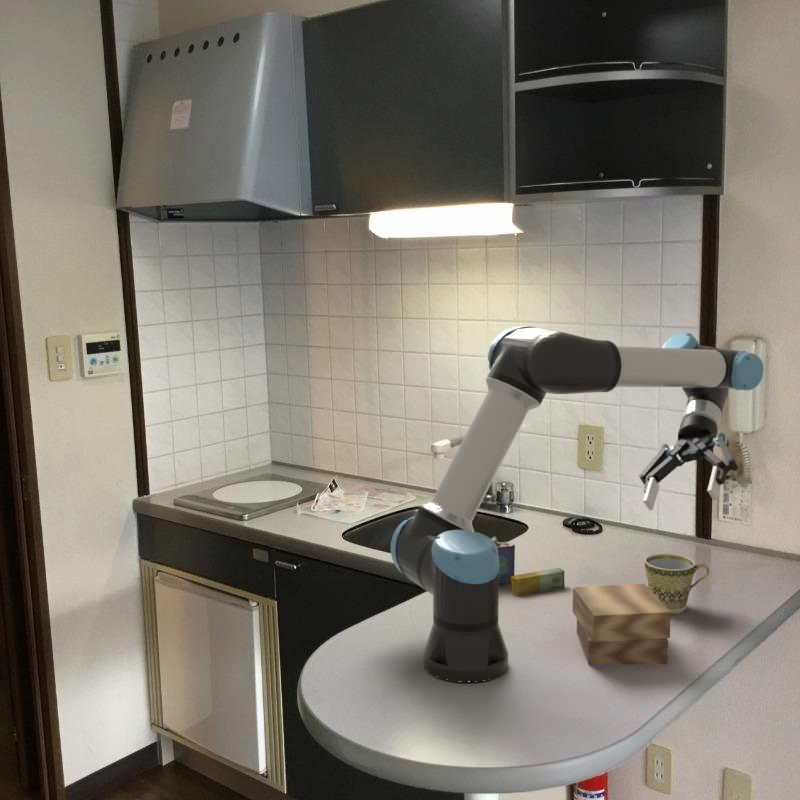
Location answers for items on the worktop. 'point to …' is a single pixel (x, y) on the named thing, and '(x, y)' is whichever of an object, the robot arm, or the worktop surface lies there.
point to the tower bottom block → (623, 650)
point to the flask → (505, 561)
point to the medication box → (537, 581)
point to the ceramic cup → (672, 579)
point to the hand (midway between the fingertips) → (679, 500)
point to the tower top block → (621, 613)
